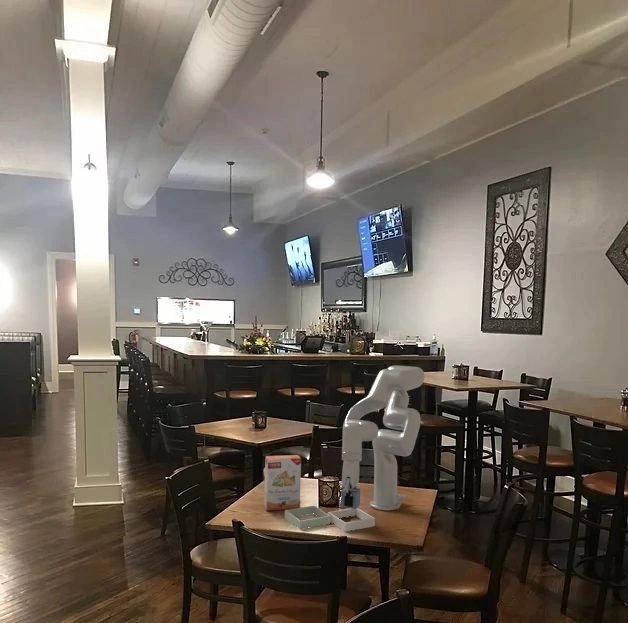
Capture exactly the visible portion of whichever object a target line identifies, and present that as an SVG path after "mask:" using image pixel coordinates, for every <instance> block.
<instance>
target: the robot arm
mask: <svg viewBox="0 0 628 623" xmlns="http://www.w3.org/2000/svg"><path fill="white" fill-rule="evenodd" d="M424 381H425V371H424V370H423V369H422V368H421V367H418V366H408V365H391V366H388V367H387V368H384V369H381V370H380V371H379V372H378V373H377V376H376V378H375V380H374V381H373V383H372V386H371V388H370V390H369V392H368V394H367V396H365V397H364V398H362V399H360V401H358V402H357V403H356V404H354V405H353V406H352V407H351V408H350V409H349V411H348V413H347V415H346V417H345V419H344V420H343V424H342V441H341V442H342V447H341V460H342V461H343V463H342V471H341V472H342V473H341V485H340V486H341V487H342V488H345V498H344V506H348V507H353V496H352V494H353V488H358V484H359V481H360V462H362V459H363V442H372V443H371V444H372V448H373V455H374V456H373V457H374V462H373V463H374V468H373V472H374V474H373V499H371V500H370V501H369V505H370V507H372V509H376V510H380V511H395V510H396V511H397V510H399V509H400V508H401V502H400V501H402V500H406V499H407V495H406V494H400V493H398V461H397V459H396V456H401V457H409V456H411V454H412V452H413V450H414V448H415V445H416V441H417V438H418V434H419V431H420V428H421V423H422V422H421V420H422V419H421V415H420V412H419V411H418V410H417V409H415V408H410V407H408V406H409V402H410V397H409V394H408V391H410V390H414V389H417V388H419V387H421V386H422V385H423V383H424ZM385 407H386V408H385ZM384 408H385V411H384V413H383V414H384V415H383V417H382V423H383V425H384V426H385V427H386V428H389V429H384V428H381V429H379V426H378V425H377V424H376V423H374V422H373V421H369V420H365V419H364V420H363V419H361V418H362V417H364V416H365V415H368V414H370V413H373V412H376V411H379V410H382V409H384ZM391 429H392V430H391ZM349 489H351V491H350V490H349Z"/></svg>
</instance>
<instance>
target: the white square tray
mask: <svg viewBox="0 0 628 623" xmlns="http://www.w3.org/2000/svg"><path fill="white" fill-rule="evenodd" d="M327 514H328V515H330V516H331V522H332V523H331V524H333V523H334V524H335V525H334V524H333V525H334V526H336V527H337V526H338V527H337V528H339V529H340V528H341V529H340V530H342V531H343V532H346V533H347V532H351V530H352V531H357V530H362V529H367V528H372V527H375V526H376V524H375V523H376V518H375V517H374V516H372V515H370V514H368V513H367V512H366V511H363V510H361V509H359V507H358V508H357V509H351V508H345V509H339V510H333V511H327ZM355 515H356V516H355ZM349 516H351V517H357V518H359V520H354V521H348V522H345V521H344V520H342V519H343V518H342V517H346V518H350V517H349ZM339 518H340V519H339ZM356 529H357V530H356Z"/></svg>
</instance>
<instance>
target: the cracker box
mask: <svg viewBox="0 0 628 623" xmlns="http://www.w3.org/2000/svg"><path fill="white" fill-rule="evenodd" d="M264 460H265V463H264V464H265V467H264V468H265V489H264V492H263V493H264V494H263V495H264V497H263V498H264V499H263V500H264V502H263V505H264V506H263V507H264V509H265V511H267V512H268V511H269V512H271V511H281V510H283V511H285V510H290V509H296V508H301V507H300V505H301V480H302V479H301V478H302V476H301V475H302V458H301V457H300V456H299V455H298V454H292V455H290V454H289V455H266V456H265V459H264Z"/></svg>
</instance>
